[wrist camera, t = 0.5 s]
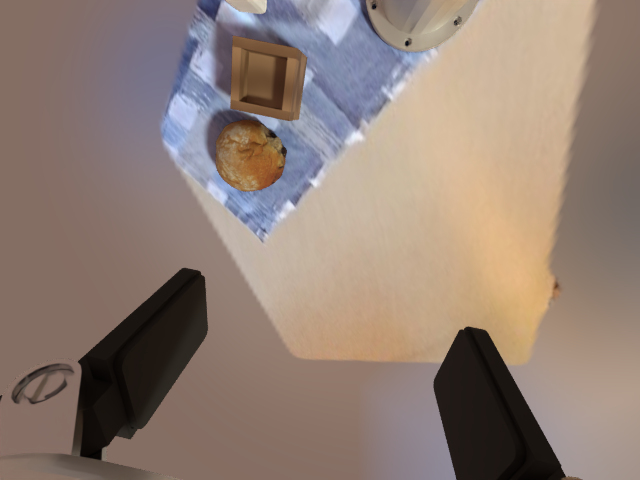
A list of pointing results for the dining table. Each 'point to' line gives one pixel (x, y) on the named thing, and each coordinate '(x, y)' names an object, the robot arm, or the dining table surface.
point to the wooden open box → (267, 78)
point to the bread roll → (249, 156)
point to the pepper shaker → (249, 5)
